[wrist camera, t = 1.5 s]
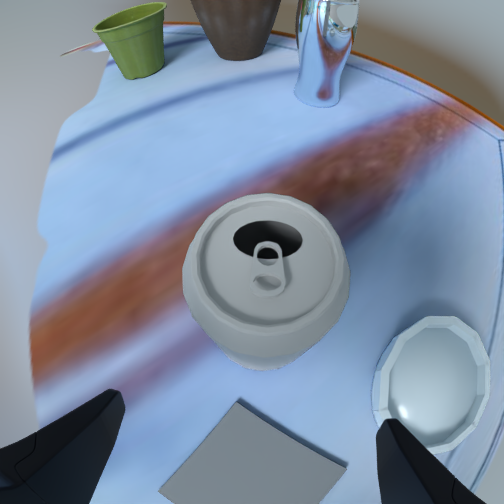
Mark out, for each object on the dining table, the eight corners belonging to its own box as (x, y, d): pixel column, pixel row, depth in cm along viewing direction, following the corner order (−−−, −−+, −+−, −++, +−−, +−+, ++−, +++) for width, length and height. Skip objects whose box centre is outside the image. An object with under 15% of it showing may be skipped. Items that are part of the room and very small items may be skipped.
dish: (441, 468, 16) (452, 471, 14) (343, 417, 19) (350, 419, 17) (492, 356, 19) (504, 353, 18) (410, 297, 23) (419, 290, 21)
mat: (265, 553, 13) (265, 555, 13) (159, 489, 16) (157, 491, 16) (345, 467, 17) (346, 469, 16) (236, 401, 20) (236, 401, 19)
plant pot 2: (176, 63, 40) (161, -20, 26) (226, 33, 46) (221, -37, 32) (255, 79, 37) (254, -23, 22) (297, 47, 42) (303, -32, 28)
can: (310, 278, 24) (349, 182, 13) (312, 371, 20) (370, 350, 10) (217, 275, 24) (186, 178, 13) (210, 369, 21) (159, 345, 10)
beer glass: (352, 101, 35) (373, 3, 21) (317, 116, 33) (333, 4, 19) (315, 78, 37) (326, -13, 24) (279, 91, 35) (283, -11, 22)
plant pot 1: (139, 54, 44) (126, 5, 34) (190, 55, 41) (182, -1, 31) (97, 87, 39) (77, 34, 29) (148, 90, 37) (131, 26, 27)
